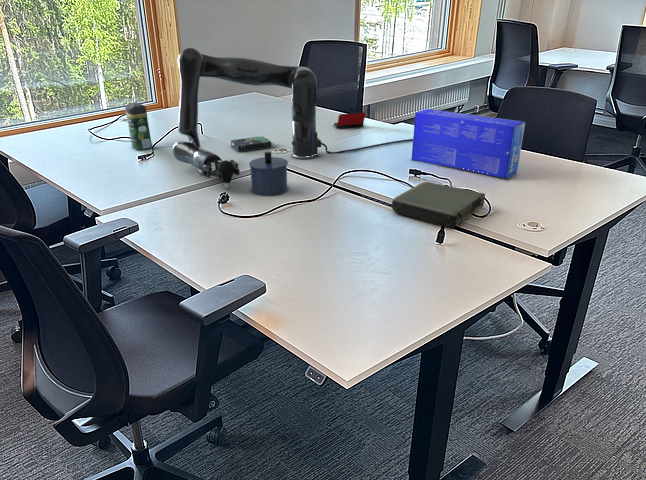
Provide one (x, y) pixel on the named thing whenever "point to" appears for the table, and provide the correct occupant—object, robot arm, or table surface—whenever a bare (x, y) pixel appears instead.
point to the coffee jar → (138, 126)
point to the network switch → (438, 203)
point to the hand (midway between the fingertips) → (229, 174)
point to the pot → (269, 181)
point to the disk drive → (250, 144)
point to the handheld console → (350, 120)
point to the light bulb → (226, 172)
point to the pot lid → (268, 162)
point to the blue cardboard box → (468, 142)
